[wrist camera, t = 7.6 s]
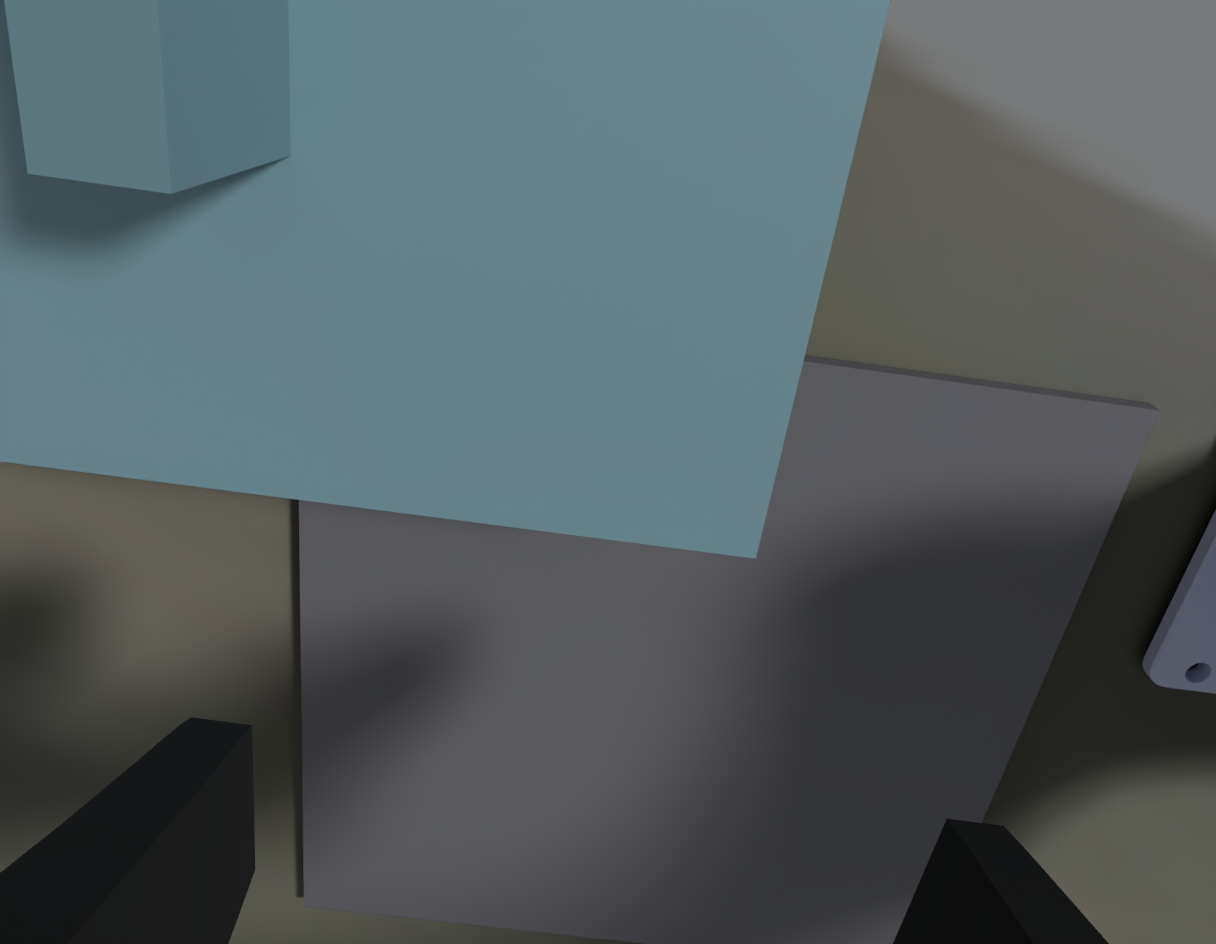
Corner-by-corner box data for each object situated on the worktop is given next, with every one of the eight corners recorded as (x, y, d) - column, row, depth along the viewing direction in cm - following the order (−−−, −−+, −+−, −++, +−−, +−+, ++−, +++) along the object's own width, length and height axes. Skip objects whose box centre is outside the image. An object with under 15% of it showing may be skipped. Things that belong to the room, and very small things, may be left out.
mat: (1148, 403, 17) (1160, 410, 17) (912, 959, 24) (916, 974, 23) (303, 285, 16) (296, 290, 16) (309, 892, 23) (303, 906, 23)
